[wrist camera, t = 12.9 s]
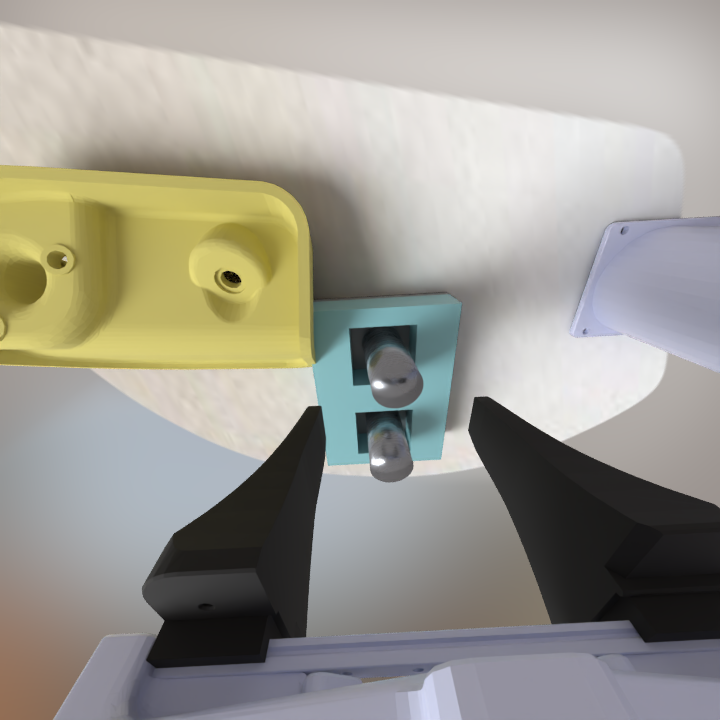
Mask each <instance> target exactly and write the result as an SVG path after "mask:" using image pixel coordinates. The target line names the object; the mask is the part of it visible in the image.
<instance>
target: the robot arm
mask: <svg viewBox="0 0 720 720" xmlns="http://www.w3.org/2000/svg"><path fill="white" fill-rule="evenodd" d="M623 227H624V229H623V232H622V233H621V229H622V228H623ZM584 329H586V330H585V331H584ZM583 331H584V332H583ZM570 335H572V336H574V337H594V336H611V335H627V336H629V337H631V338H634V339H636V340H639V341H641V342H644V343H646V344H649V345H651V346H654V347H656V348H659V349H661V350H663V351H666V352H668V353H671V354H674V355H676V356H678V357H681V358H683V359H686V360H688V361H691V362H693V363H696V364H698V365H700V366H703V367H705V368H708V369H710V370H713V371H715V372H718V373H720V216H716V217H699V218H698V217H697V218H680V219H663V220H645V221H628V222H614V223H612V224H610V225H609V226H608V227H607V228H606V230H605V232H604V235H603V238H602V241H601V244H600V246H599V249H598V252H597V255H596V258H595V261H594V264H593V266H592V269H591V272H590V275H589V278H588V281H587V284H586V286H585V289H584V292H583V295H582V298H581V301H580V304H579V306H578V309H577V312H576V315H575V318H574V321H573V323H572V326H571V329H570ZM468 431H469V434H470V437H471V439H472V442H473V444H474V447H475V449H476V451H477V453H478V455H479V457H480V459H481V461H482V462H483V464H484V466H485V468H486V470H487V471H488V473H489V474H490V477H491V478H492V480H493V482H494V484H495V486H496V488H497V489H498V491H499V493H500V495H501V497H502V499H503V501H504V502H505V505H506V507H507V509H508V511H509V514H510V516H511V518H512V520H513V523H514V525H515V527H516V530H517V532H518V534H519V537H520V539H521V542H522V544H523V546H524V549H525V552H526V554H527V557H528V559H529V562H530V565H531V567H532V570H533V572H534V575H535V578H536V580H537V583H538V586H539V589H540V591H541V594H542V597H543V600H544V603H545V606H546V609H547V611H548V614H549V617H550V620H551V623H552V624H551V625H533V626H532V625H530V626H513V627H512V626H511V627H493V628H475V629H474V628H473V629H454V630H435V631H417V632H397V633H378V634H359V635H342V636H341V635H340V636H321V637H306V628H307V610H308V594H309V580H310V565H311V552H312V540H313V529H314V519H315V511H316V504H317V498H318V494H319V488H320V482H321V477H322V472H323V467H324V461H325V451H326V433H325V426H324V420H323V413H322V407H321V406H308V407H307V409H306V410H305V412H304V413H303V415H302V416H301V418H300V419H299V420H298V422H297V423H296V425H295V426H294V427H293V429H292V430H291V431H290V433H289V434H288V435H287V437H286V438H285V439H284V441H283V442H282V443H281V444H280V445H279V447H278V448H277V449H276V450H275V451H274V452H273V454H272V455H271V456H270V457H269V458H268V459H267V460H266V461H265V462H264V463H263V464H262V466H261V467H259V468H258V469H257V470H256V471H255V472H254V473H253V474H252V475H251V476H250V477H249V478H248V479H247V480H246V481H245V482H243V483H242V484H241V485H240V486H239V487H238V488H237V489H235V490H234V491H233V492H232V493H231V494H229V495H228V496H227V497H226V498H224V499H223V500H222V501H220V502H219V503H218V504H216V505H215V506H214V507H213V508H211V509H210V510H208V511H207V512H206V513H204V514H203V515H201V516H200V517H198V518H197V519H195V520H194V521H192V522H191V523H190V524H188V525H187V526H185V527H183V528H182V529H181V530H179V531H177V532H176V533H174V534H173V536H172V538H171V539H170V541H169V542H168V544H167V545H166V547H165V548H164V550H163V552H162V554H161V555H160V557H159V559H158V561H157V562H156V564H155V566H154V567H153V569H152V571H151V573H150V574H149V576H148V578H147V580H146V581H145V583H144V585H143V587H142V594H143V597H144V599H145V600H146V602H147V603H148V604H149V605H150V606H151V607H152V608H153V609H154V610H155V611H156V612H157V613H158V614H159V615H160V616H161V617H162V618H163V619H164V620H165V621H164V623H163V625H162V628H161V630H160V632H159V634H158V636H156V635H153V634H149V633H134V634H133V633H132V634H113V635H107V636H105V637H103V638H102V640H101V642H100V643H99V645H98V646H97V648H96V650H95V652H94V653H93V655H92V656H91V658H90V660H89V661H88V663H87V665H86V666H85V668H84V670H83V671H82V673H81V675H80V676H79V678H78V679H77V681H76V683H75V685H74V686H73V688H72V690H71V691H70V693H69V694H68V696H67V698H66V699H65V701H64V703H63V704H62V706H61V708H60V709H59V711H58V712H57V714H56V716H55V718H54V719H53V720H720V508H719V507H717V506H716V505H715V504H712V503H709V502H706V501H703V500H700V499H697V498H694V497H691V496H688V495H685V494H682V493H679V492H676V491H673V490H670V489H667V488H664V487H662V486H659V485H656V484H654V483H651V482H649V481H646V480H643V479H641V478H638V477H635V476H633V475H630V474H628V473H626V472H623V471H621V470H618V469H616V468H614V467H611V466H609V465H607V464H605V463H602V462H600V461H598V460H596V459H594V458H591V457H589V456H587V455H585V454H583V453H581V452H579V451H577V450H575V449H573V448H571V447H569V446H567V445H565V444H564V443H562V442H560V441H558V440H556V439H555V438H553V437H551V436H549V435H548V434H546V433H544V432H543V431H541V430H539V429H538V428H536V427H534V426H533V425H531V424H530V423H528V422H526V421H525V420H523V419H522V418H520V417H519V416H517V415H516V414H514V413H513V412H511V411H510V410H508V409H507V408H505V407H503V406H502V405H500V404H499V403H497V402H496V401H494V400H493V399H491V398H489V397H488V396H487V397H474V403H473V408H472V413H471V418H470V423H469V429H468ZM392 676H405V677H399V678H394V679H388V680H381V681H375V682H369V683H363V684H362V681H361V679H360V678H372V677H392Z"/></svg>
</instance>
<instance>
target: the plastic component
mask: <svg viewBox="0 0 720 720" xmlns="http://www.w3.org/2000/svg"><path fill="white" fill-rule="evenodd" d="M64 256H66V257H67V260H68V262H66V261H63V260H62V259H63V257H64ZM225 271H232V272H234V273H236V274H237V275H238V276H239V277H240V279H241V282H240V283H232V282H230V281H228V280H227V279H226V278H225V276H224V274H223V272H225ZM312 364H316V358H315V348H314V322H313V249H312V243H311V237H310V232H309V227H308V222H307V218H306V215H305V213H304V211H303V209H302V207H301V205H300V204H299V203H298V202H297V201H296V199H295V198H294V197H293V196H292V195H291V194H289V193H288V192H287V191H285V190H284V189H283V188H281V187H279V186H277V185H274V184H271V183H267V182H264V181H250V180H234V179H219V178H203V177H188V176H172V175H157V174H141V173H126V172H110V171H94V170H79V169H63V168H48V167H32V166H8V165H0V365H12V366H40V367H69V368H70V367H71V368H105V369H269V368H304V367H312Z"/></svg>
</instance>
